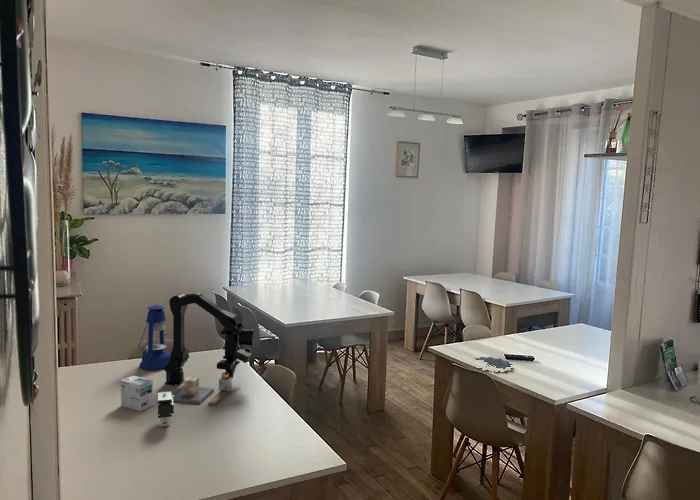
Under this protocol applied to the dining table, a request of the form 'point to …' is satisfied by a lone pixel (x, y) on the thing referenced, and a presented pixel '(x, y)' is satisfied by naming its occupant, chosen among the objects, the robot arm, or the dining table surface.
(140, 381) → the light bulb box
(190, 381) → the housing block
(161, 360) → the lantern
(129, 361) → the dining table surface
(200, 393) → the press bed
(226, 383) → the grey and brass block
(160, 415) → the pneumatic valve
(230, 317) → the robot arm
